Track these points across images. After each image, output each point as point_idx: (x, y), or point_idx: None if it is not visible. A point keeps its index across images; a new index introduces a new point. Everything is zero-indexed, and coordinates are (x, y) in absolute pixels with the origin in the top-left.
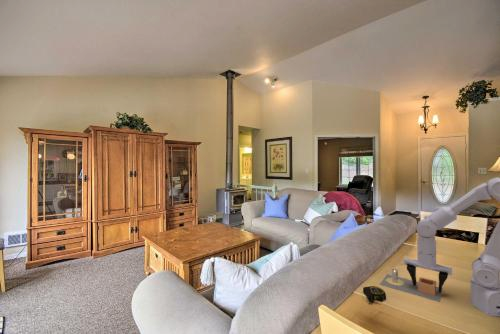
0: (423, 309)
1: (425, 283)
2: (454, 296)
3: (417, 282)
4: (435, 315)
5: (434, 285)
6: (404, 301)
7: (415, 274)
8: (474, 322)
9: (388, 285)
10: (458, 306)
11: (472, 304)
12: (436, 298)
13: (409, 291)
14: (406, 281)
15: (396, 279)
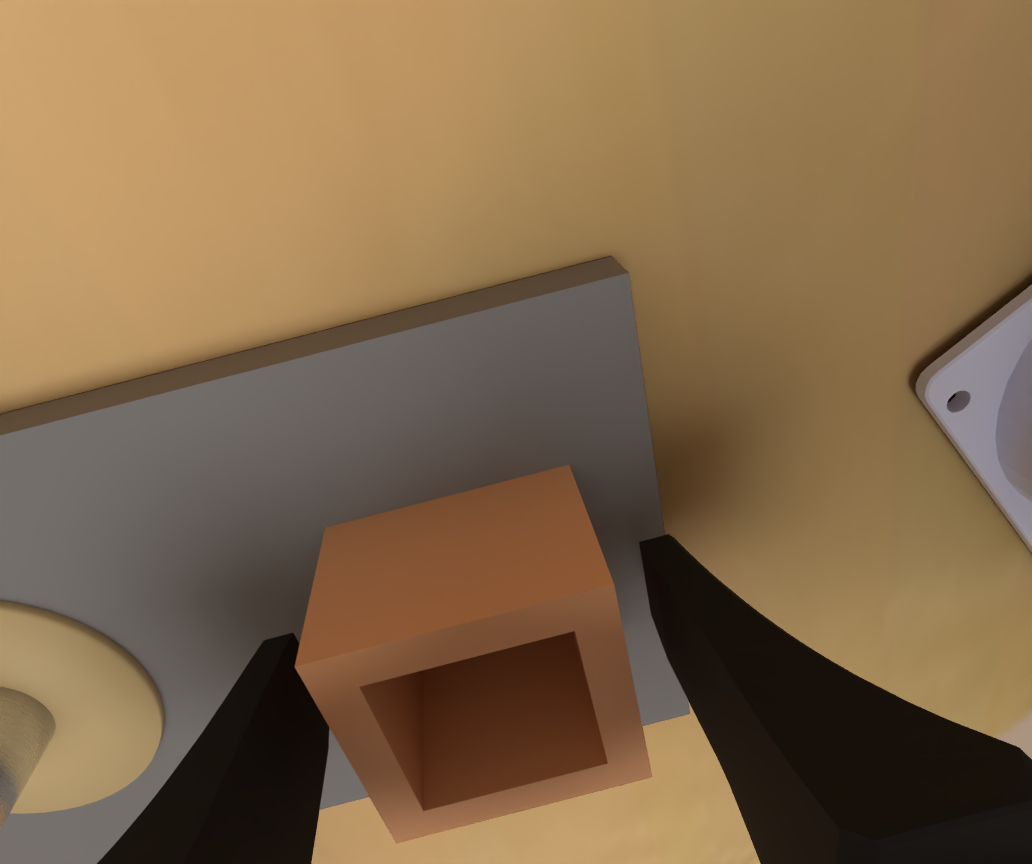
0: (576, 833)
1: (505, 798)
2: (786, 289)
3: (198, 423)
4: (680, 831)
5: (640, 756)
6: (393, 854)
7: (235, 822)
8: (956, 698)
9: (65, 837)
10: (840, 543)
11: (1029, 492)
12: (640, 678)
13: (336, 771)
14: (62, 543)
15: (19, 793)
